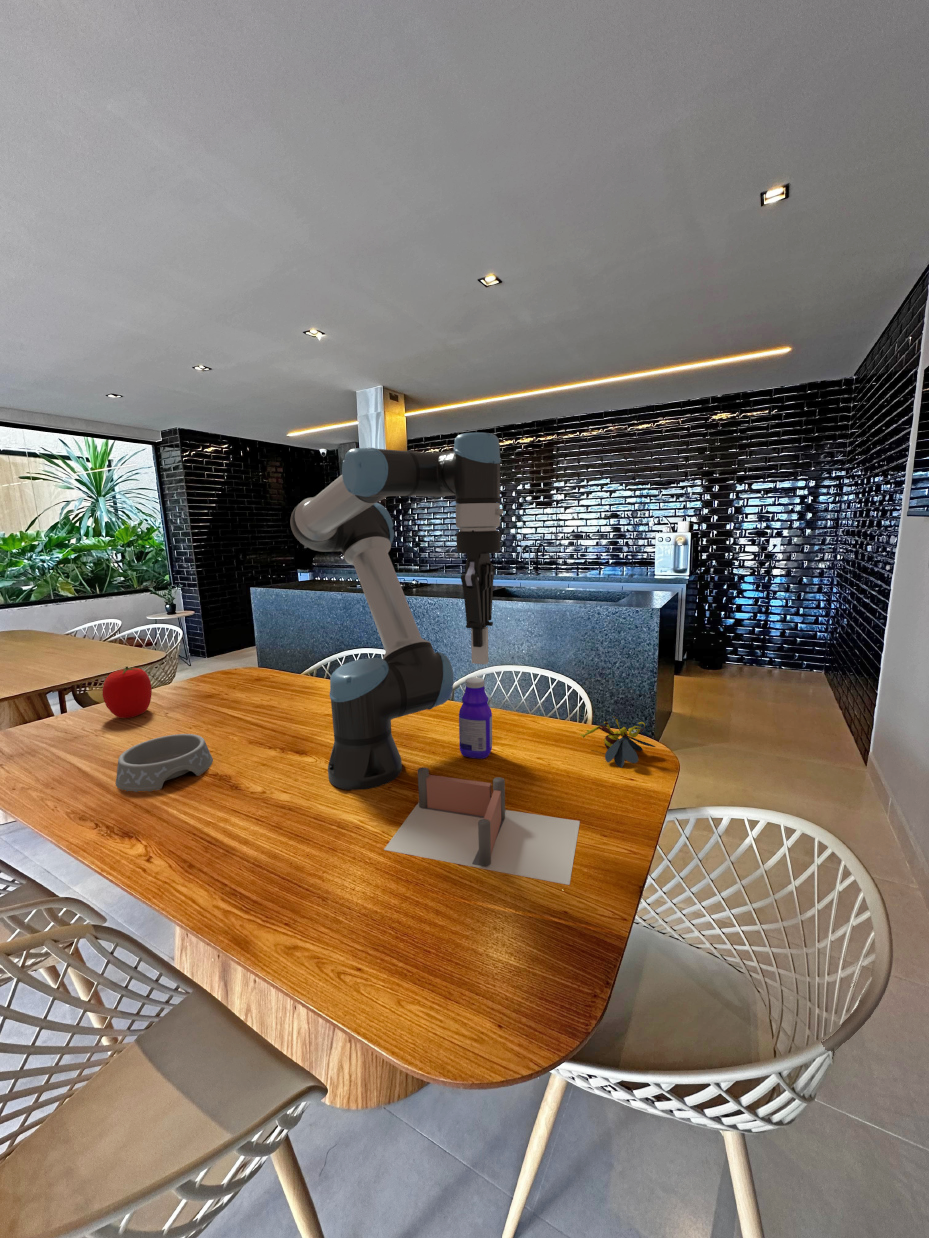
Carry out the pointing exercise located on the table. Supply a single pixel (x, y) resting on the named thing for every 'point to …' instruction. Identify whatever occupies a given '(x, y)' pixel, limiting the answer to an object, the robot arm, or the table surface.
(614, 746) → the toy
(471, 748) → the bottle
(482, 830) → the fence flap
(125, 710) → the tomato
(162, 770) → the dog bowl
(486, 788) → the fence fixed
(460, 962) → the table surface
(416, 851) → the card
